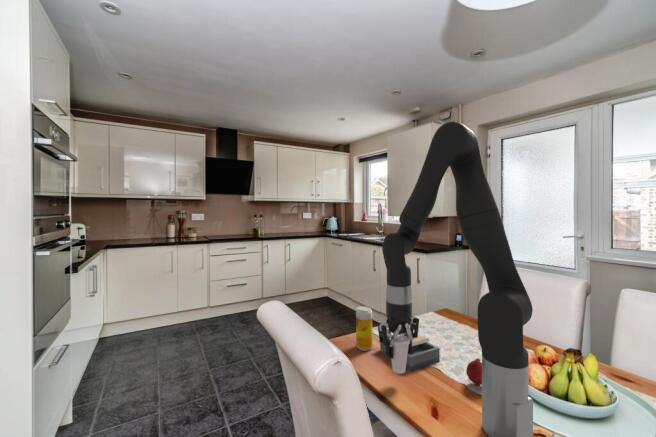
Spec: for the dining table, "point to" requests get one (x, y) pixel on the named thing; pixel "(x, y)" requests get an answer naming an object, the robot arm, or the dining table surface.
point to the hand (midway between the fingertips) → (399, 355)
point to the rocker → (419, 340)
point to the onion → (475, 371)
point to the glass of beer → (364, 328)
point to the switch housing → (420, 355)
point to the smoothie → (400, 353)
